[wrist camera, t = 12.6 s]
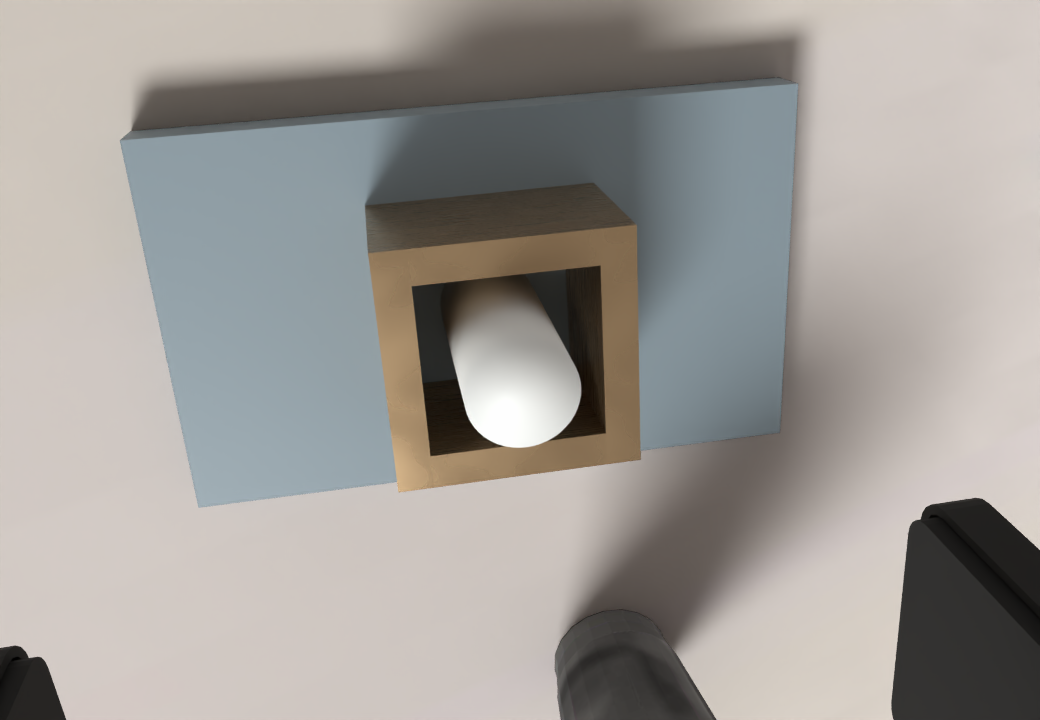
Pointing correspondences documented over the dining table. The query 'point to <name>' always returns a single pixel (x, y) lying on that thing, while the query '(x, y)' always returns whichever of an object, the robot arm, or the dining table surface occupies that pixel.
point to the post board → (315, 283)
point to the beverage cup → (623, 673)
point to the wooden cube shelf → (494, 253)
